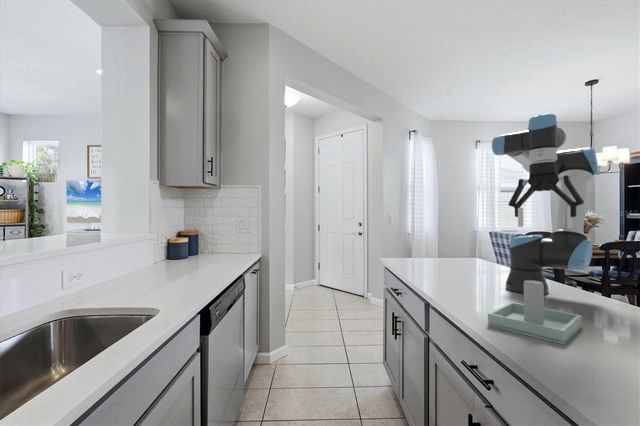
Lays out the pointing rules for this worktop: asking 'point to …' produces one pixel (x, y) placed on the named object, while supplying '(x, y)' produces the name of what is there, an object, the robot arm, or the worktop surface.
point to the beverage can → (534, 302)
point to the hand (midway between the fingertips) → (544, 227)
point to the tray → (553, 329)
